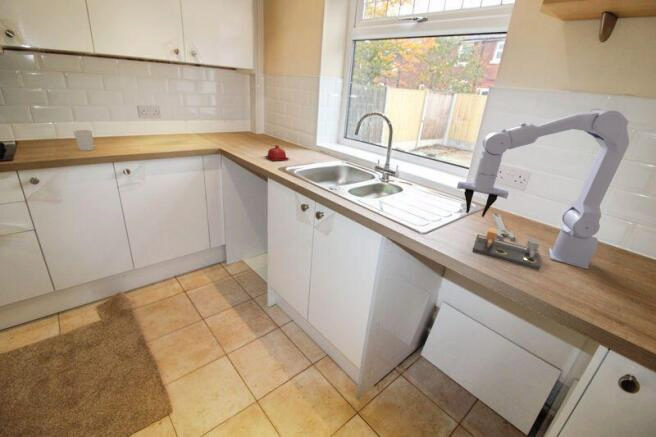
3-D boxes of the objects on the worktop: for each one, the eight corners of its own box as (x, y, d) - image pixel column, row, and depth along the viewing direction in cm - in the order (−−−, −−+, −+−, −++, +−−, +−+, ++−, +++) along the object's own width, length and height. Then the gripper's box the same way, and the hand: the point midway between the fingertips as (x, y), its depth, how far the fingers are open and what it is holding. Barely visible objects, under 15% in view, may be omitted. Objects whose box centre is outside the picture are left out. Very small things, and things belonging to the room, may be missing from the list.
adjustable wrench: (491, 216, 130) (492, 212, 129) (508, 219, 128) (510, 215, 127) (493, 239, 109) (495, 234, 108) (514, 244, 106) (516, 239, 106)
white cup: (93, 150, 174) (89, 132, 170) (75, 150, 171) (71, 132, 167) (96, 147, 181) (93, 130, 177) (80, 147, 178) (76, 129, 174)
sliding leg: (494, 239, 103) (497, 229, 102) (492, 248, 97) (496, 237, 96) (485, 237, 104) (489, 227, 103) (483, 246, 98) (487, 235, 97)
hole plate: (536, 253, 100) (542, 238, 98) (538, 270, 90) (545, 254, 88) (476, 237, 108) (480, 223, 106) (472, 251, 98) (476, 235, 96)
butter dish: (280, 156, 197) (280, 142, 194) (290, 160, 189) (290, 146, 186) (263, 158, 190) (263, 143, 187) (273, 162, 182) (273, 147, 179)
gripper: (513, 175, 97) (500, 215, 102) (463, 166, 103) (453, 205, 108) (513, 180, 91) (499, 223, 96) (460, 170, 97) (450, 211, 103)
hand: (475, 214), depth 102 cm, fingers open, 4 cm apart
